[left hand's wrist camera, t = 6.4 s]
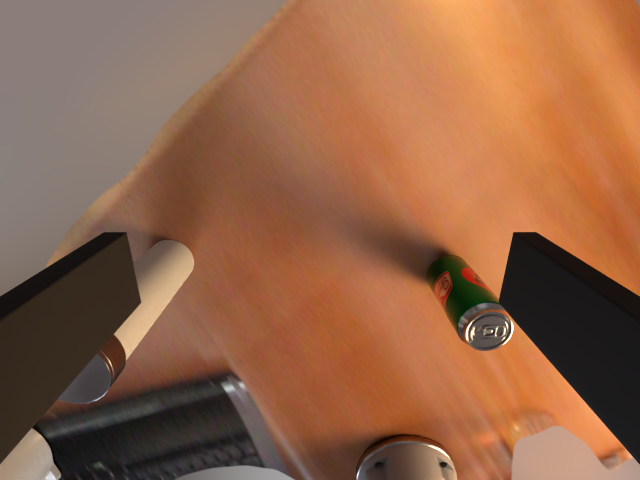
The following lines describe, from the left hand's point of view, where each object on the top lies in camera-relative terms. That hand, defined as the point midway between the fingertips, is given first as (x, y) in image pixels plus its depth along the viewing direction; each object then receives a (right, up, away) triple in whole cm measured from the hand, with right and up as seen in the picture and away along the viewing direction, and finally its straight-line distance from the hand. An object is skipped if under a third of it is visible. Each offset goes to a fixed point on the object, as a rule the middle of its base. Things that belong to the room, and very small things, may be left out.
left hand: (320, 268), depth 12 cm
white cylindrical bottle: (-18, -1, +31) cm, 36 cm away
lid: (-18, -8, +13) cm, 24 cm away
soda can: (+15, -3, +31) cm, 35 cm away
